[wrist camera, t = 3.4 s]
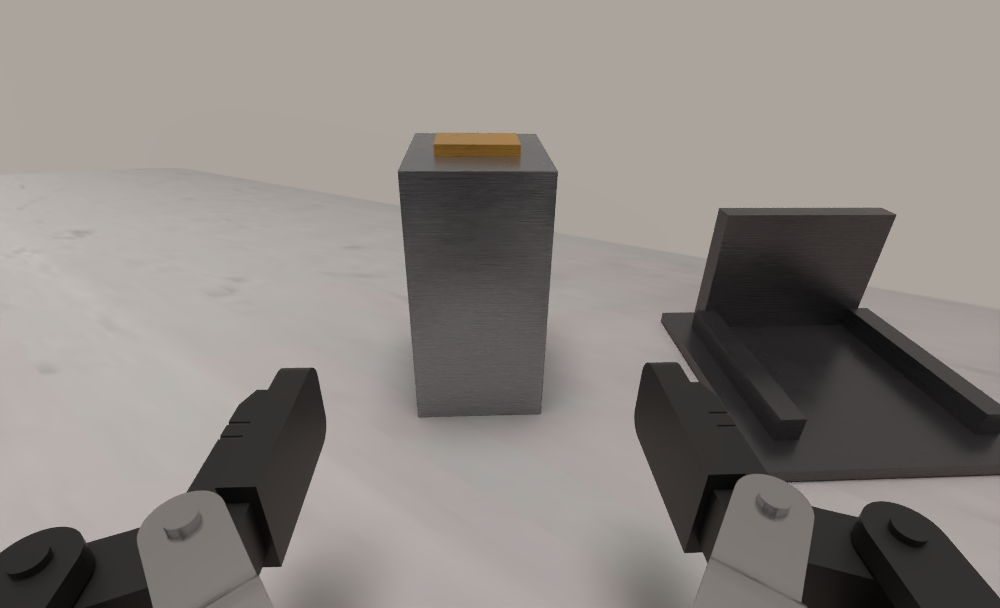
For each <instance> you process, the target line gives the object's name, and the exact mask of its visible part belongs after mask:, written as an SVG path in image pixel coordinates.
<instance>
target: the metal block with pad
mask: <svg viewBox="0 0 1000 608" xmlns="http://www.w3.org/2000/svg"><path fill="white" fill-rule="evenodd" d="M557 176H558V171H557V169H556V168H555V166H554V164H553V162H552V161H551V159H550V157H549V156H548V154H547V152H546V151H545V149H544V147H543V145H542V144H541V142H540V140H539V139H538V137H537V135H536V134H516V133H432V134H430V133H416V134H415V135H414V137H413V140H412V142H411V144H410V146H409V148H408V150H407V153H406V155H405V157H404V159H403V161H402V163H401V166H400V168H399V170H398V179H399V191H400V204H401V216H402V228H403V240H404V252H405V264H406V276H407V288H408V300H409V312H410V324H411V336H412V348H413V360H414V372H415V384H416V396H417V408H418V417H450V416H490V415H530V414H541V401H542V387H543V373H544V359H545V345H546V331H547V316H548V302H549V288H550V274H551V260H552V246H553V232H554V218H555V203H556V189H557Z"/></svg>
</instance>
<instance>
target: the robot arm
mask: <svg viewBox="0 0 1000 608" xmlns="http://www.w3.org/2000/svg"><path fill="white" fill-rule="evenodd" d="M634 419H635V429H636V433H637V436H638V439H639V441H640V444H641V446H642V449H643V451H644V454H645V456H646V459H647V461H648V464H649V466H650V469H651V471H652V474H653V476H654V479H655V481H656V484H657V486H658V489H659V491H660V494H661V496H662V499H663V501H664V504H665V506H666V509H667V511H668V513H669V516H670V518H671V521H672V523H673V526H674V528H675V531H676V533H677V536H678V538H679V541H680V543H681V546H682V548H683V551H684V553H697V552H703V554H704V556H705V558H706V561H707V563H708V564H707V567H706V570H705V573H704V576H703V579H702V582H701V585H700V588H699V590H698V593H697V596H696V599H695V602H694V605H693V608H1000V598H999V597H998V596H997V594H996V593H995V592H994V591H993V590H992V588H991V587H990V586H989V585H988V584H987V583H986V581H985V580H984V579H983V578H982V577H981V576H980V574H979V573H978V572H977V571H976V570H975V569H974V567H973V566H972V565H971V564H970V563H969V562H968V560H967V559H966V558H965V557H964V556H963V555H962V553H961V552H960V551H959V550H958V549H957V548H956V546H955V545H954V544H953V543H952V542H951V541H950V539H949V538H948V537H947V536H946V535H945V534H944V532H943V531H942V530H941V529H940V528H939V527H937V526H936V525H935V524H934V523H933V522H931V521H930V520H929V519H927V518H926V517H924V516H923V515H921V514H919V513H918V512H916V511H914V510H912V509H910V508H907V507H905V506H902V505H899V504H896V503H891V502H883V501H879V502H872V503H870V504H868V505H866V506H865V507H864V508H863V510H862V512H861V514H860V516H859V517H854V516H850V515H846V514H841V513H837V512H833V511H828V510H824V509H820V508H816V507H813V506H811V504H810V503H809V501H808V500H807V499H806V498H805V496H804V495H803V494H802V493H801V492H800V491H798V490H797V489H796V488H795V487H793V486H792V485H790V484H789V483H787V482H785V481H783V480H781V479H778V478H776V477H773V476H769V474H768V473H767V471H766V470H765V468H764V467H763V465H762V464H761V462H760V461H759V459H758V457H757V456H756V454H755V453H754V451H753V450H752V448H751V447H750V445H749V444H748V442H747V441H746V439H745V438H744V436H743V435H742V433H741V432H740V430H739V429H738V428H736V424H735V422H734V421H733V419H732V418H731V416H730V415H728V414H727V410H726V409H725V407H724V406H723V404H722V403H721V401H720V400H719V398H718V397H717V395H715V394H714V393H713V392H712V391H710V390H709V389H708V388H706V387H705V386H704V385H703V384H701V383H700V382H690V381H689V379H688V378H687V376H686V374H685V373H684V371H683V369H682V368H681V366H680V365H679V364H678V363H677V362H662V363H646V364H645V365H644V367H643V370H642V375H641V381H640V386H639V391H638V396H637V402H636V407H635V415H634ZM325 435H326V416H325V410H324V405H323V400H322V395H321V390H320V385H319V380H318V376H317V372H316V370H315V369H314V368H281V369H280V370H279V371H278V372H277V374H276V376H275V378H274V380H273V382H272V383H271V385H270V387H269V389H268V390H256V391H255V392H254V393H253V394H251V395H250V396H249V397H248V398H247V399H245V400H244V401H243V402H242V403H241V404H239V406H238V407H237V409H236V411H235V412H234V414H233V416H232V417H231V419H230V421H229V425H227V426H226V427H225V429H224V431H223V432H222V434H221V436H220V437H221V438H220V440H218V441H217V442H216V444H215V446H214V447H213V449H212V451H211V452H210V454H209V456H208V457H207V459H206V461H205V462H204V464H203V466H202V468H201V469H200V471H199V473H198V474H197V476H196V478H195V479H194V481H193V483H192V484H191V486H190V488H189V489H188V491H187V493H184V494H181V495H178V496H176V497H174V498H172V499H170V500H168V501H166V502H165V503H163V504H161V505H160V506H159V507H157V508H156V509H155V510H154V511H153V512H152V513H151V514H150V515H149V516H148V517H147V518H146V519H145V520H144V522H143V523H142V525H141V527H140V528H137V529H134V530H131V531H127V532H124V533H120V534H117V535H113V536H109V537H106V538H102V539H99V540H95V541H92V542H88V543H86V541H85V540H84V538H83V536H82V535H81V533H80V532H79V531H77V530H76V529H73V528H69V527H55V528H49V529H45V530H42V531H39V532H36V533H33V534H31V535H29V536H27V537H24V538H23V539H21V540H19V541H17V542H15V543H14V544H12V545H11V546H9V547H8V548H6V549H5V550H4V551H2V552H1V553H0V608H274V607H273V605H272V603H271V601H270V599H269V596H268V594H267V592H266V590H265V587H264V585H263V583H262V581H261V579H260V577H259V574H260V572H261V569H262V567H281V566H282V563H283V560H284V557H285V554H286V552H287V549H288V546H289V543H290V540H291V537H292V534H293V531H294V528H295V525H296V522H297V520H298V517H299V514H300V511H301V508H302V505H303V502H304V499H305V496H306V493H307V490H308V488H309V485H310V482H311V479H312V476H313V473H314V470H315V467H316V464H317V461H318V458H319V456H320V453H321V450H322V447H323V444H324V440H325Z"/></svg>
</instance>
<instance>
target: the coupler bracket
mask: <svg viewBox="0 0 1000 608" xmlns="http://www.w3.org/2000/svg"><path fill="white" fill-rule="evenodd" d="M895 217H896V214H894V213H891V212H889V211H887V210H885V209H883V208H719V212H718V216H717V220H716V224H715V228H714V233H713V238H712V241H711V246H710V250H709V254H708V258H707V262H706V267H705V271H704V275H703V279H702V283H701V288H700V292H699V296H698V300H697V305H696V309H695V312H694V313H663V314H662V319H661V322H662V323H663V325H664V326H665V328H666V329H667V331H668V333H669V334H670V336H671V337H672V339H673V340H674V342H675V343H676V345H677V347H678V348H679V350H680V351H681V353H682V354H683V356H684V358H685V359H686V361H687V362H688V364H689V365H690V367H691V368H692V370H693V372H694V373H695V375H696V376H697V378H698V379H699V381H700V383H701V384H703V385H704V386H705V387H706V388H708V389H709V390H710V391H712V392H713V393H714V394H715V395H717V397H718V398H719V400H720V401H721V403H722V404H723V406H724V407H725V409H726V410H727V414H728V415H730V416H731V418H732V419H733V421H734V422H735V424H736V428H738V429H739V430H740V432H741V433H742V435H743V436H744V438H745V439H746V441H747V442H748V444H749V445H750V447H751V448H752V450H753V451H754V453H755V454H756V456H757V457H758V459H759V461H760V462H761V464H762V465H763V467H764V468H765V470H766V471H767V473H768V474H769V476H773V477H776V478H778V479H781V480H783V481H785V482H787V481H817V480H847V479H877V478H907V477H937V476H966V475H996V474H1000V404H999V403H997V402H996V401H995V400H993V399H992V398H990V397H989V396H988V395H986V394H985V393H983V392H982V391H981V390H979V389H978V388H977V387H975V386H974V385H972V384H971V383H970V382H968V381H967V380H966V379H964V378H963V377H961V376H960V375H959V374H957V373H956V372H954V371H953V370H952V369H950V368H949V367H948V366H946V365H945V364H943V363H942V362H941V361H939V360H938V359H936V358H935V357H934V356H932V355H931V354H930V353H928V352H927V351H925V350H924V349H923V348H921V347H920V346H919V345H917V344H916V343H914V342H913V341H912V340H910V339H909V338H907V337H906V336H905V335H903V334H902V333H901V332H899V331H898V330H896V329H895V328H894V327H892V326H891V325H890V324H888V323H887V322H885V321H884V320H883V319H881V318H880V317H878V316H877V315H876V314H874V313H873V312H872V311H870V310H869V309H867V308H858V306H859V304H860V301H861V299H862V297H863V294H864V292H865V289H866V287H867V284H868V282H869V280H870V277H871V275H872V272H873V270H874V268H875V265H876V263H877V260H878V258H879V256H880V253H881V251H882V248H883V246H884V244H885V241H886V239H887V236H888V234H889V232H890V229H891V227H892V224H893V222H894V220H895Z"/></svg>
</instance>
